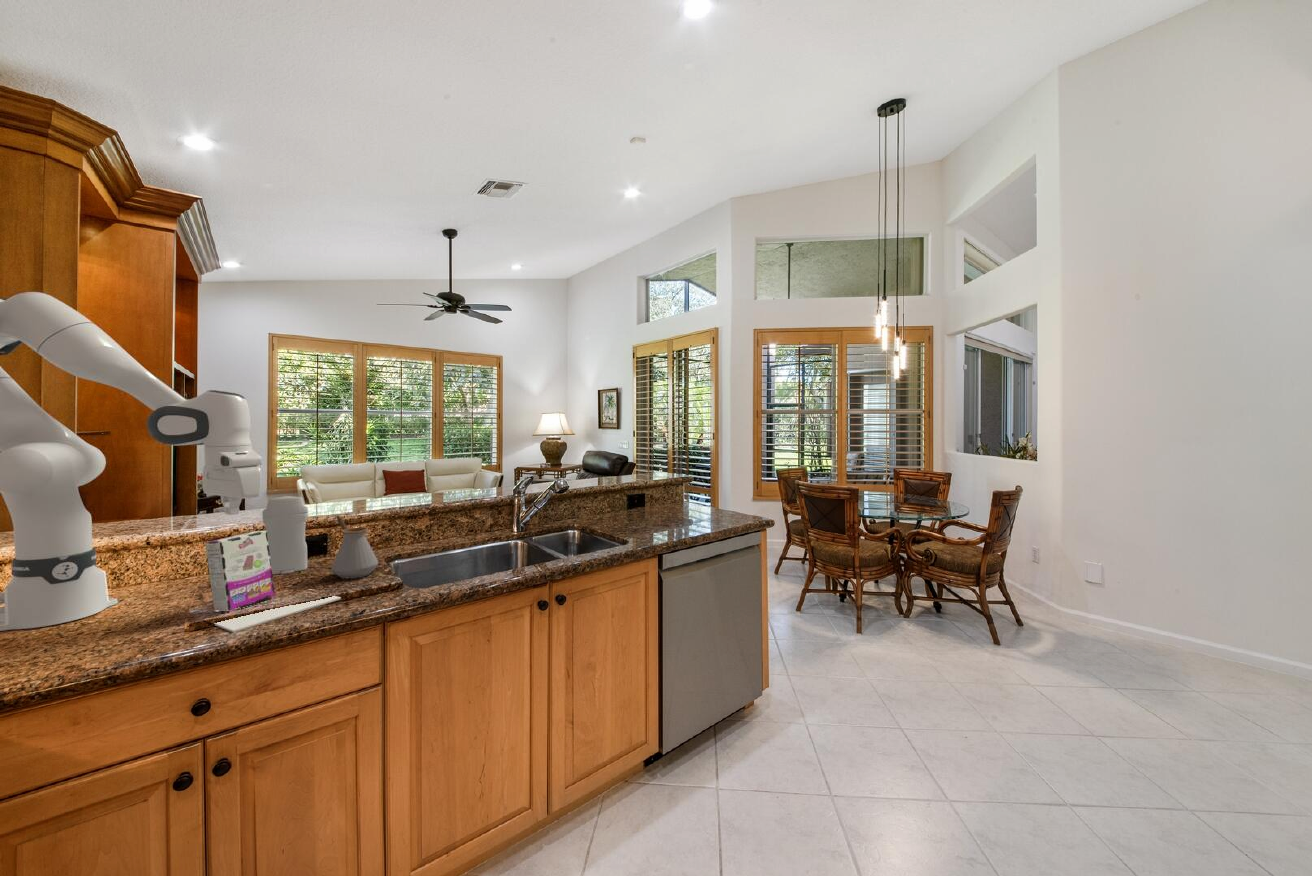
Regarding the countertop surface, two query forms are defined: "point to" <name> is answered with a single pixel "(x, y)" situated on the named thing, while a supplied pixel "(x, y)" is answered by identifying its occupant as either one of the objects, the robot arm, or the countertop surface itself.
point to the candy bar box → (240, 570)
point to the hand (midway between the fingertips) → (231, 514)
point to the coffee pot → (354, 554)
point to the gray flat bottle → (286, 534)
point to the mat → (270, 615)
